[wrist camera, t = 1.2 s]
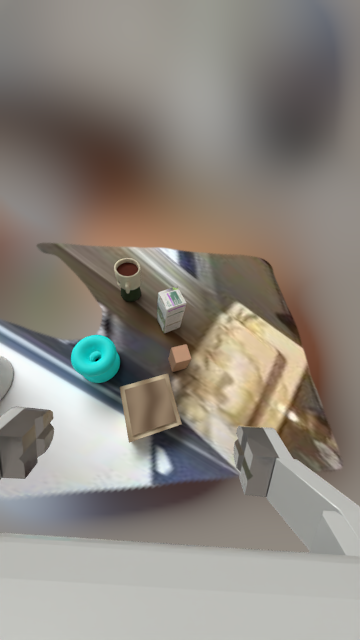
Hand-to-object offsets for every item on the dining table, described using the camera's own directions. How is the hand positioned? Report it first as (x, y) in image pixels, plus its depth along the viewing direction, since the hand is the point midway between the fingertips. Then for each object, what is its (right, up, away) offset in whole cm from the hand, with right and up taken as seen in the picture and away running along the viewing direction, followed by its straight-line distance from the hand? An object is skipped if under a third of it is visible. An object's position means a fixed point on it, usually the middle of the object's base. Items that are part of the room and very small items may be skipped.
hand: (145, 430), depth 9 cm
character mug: (-15, +13, +59) cm, 62 cm away
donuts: (-20, -7, +47) cm, 51 cm away
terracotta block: (+1, -8, +50) cm, 50 cm away
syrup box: (-2, +4, +55) cm, 55 cm away
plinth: (-6, -17, +43) cm, 47 cm away
